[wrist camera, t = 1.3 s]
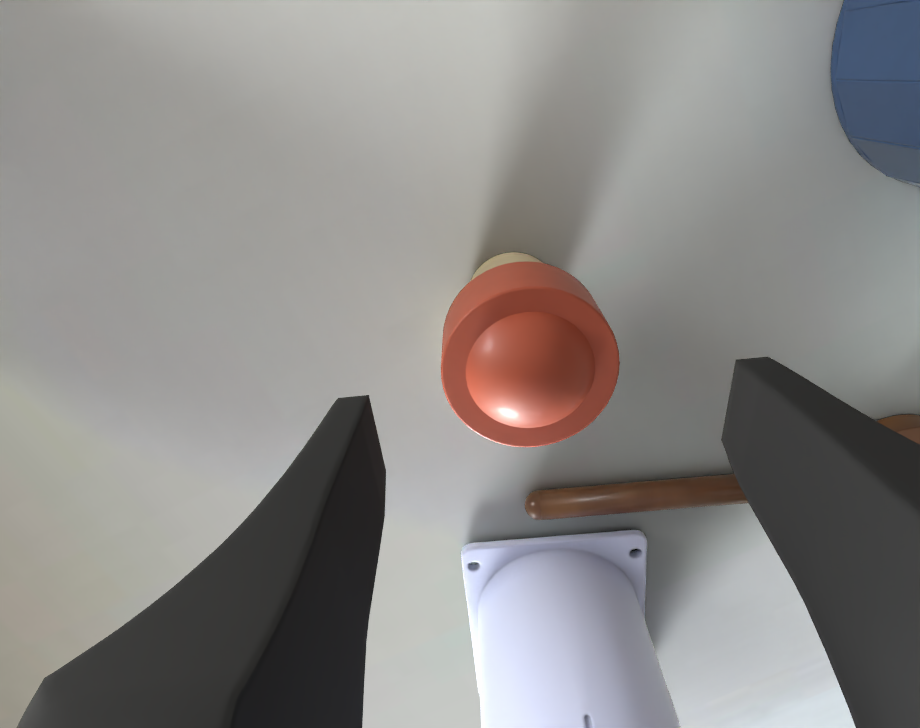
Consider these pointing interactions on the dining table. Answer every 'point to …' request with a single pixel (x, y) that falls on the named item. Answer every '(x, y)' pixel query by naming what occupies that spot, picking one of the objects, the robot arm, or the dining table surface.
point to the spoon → (662, 490)
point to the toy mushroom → (527, 353)
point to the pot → (880, 83)
